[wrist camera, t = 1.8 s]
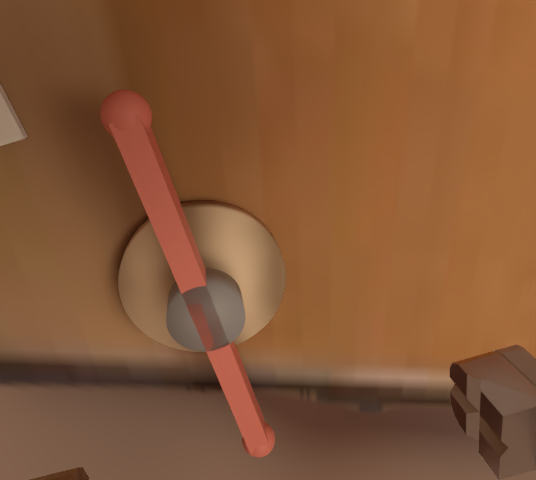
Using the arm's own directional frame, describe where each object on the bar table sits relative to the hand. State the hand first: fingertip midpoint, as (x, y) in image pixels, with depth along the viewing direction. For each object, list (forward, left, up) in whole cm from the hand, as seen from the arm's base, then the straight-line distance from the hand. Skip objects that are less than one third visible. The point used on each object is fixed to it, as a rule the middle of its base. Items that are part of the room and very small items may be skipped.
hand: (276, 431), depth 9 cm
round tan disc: (+4, +8, -22) cm, 24 cm away
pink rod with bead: (+4, +8, -19) cm, 21 cm away
